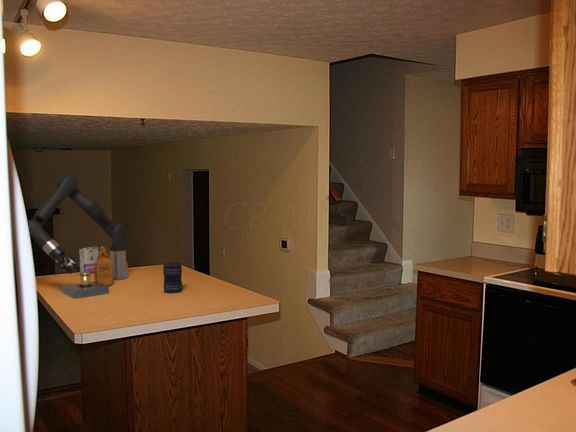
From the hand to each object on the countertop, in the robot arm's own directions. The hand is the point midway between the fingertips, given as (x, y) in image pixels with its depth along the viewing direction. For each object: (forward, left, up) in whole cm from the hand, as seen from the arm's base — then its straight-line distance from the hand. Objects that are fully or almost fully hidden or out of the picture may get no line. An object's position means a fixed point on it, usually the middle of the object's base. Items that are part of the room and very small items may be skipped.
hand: (75, 271), depth 283 cm
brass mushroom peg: (-4, +4, -11) cm, 12 cm away
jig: (-4, +4, -12) cm, 13 cm away
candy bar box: (-28, -53, -12) cm, 61 cm away
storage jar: (-41, +31, -12) cm, 52 cm away
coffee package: (-20, -11, -12) cm, 26 cm away
